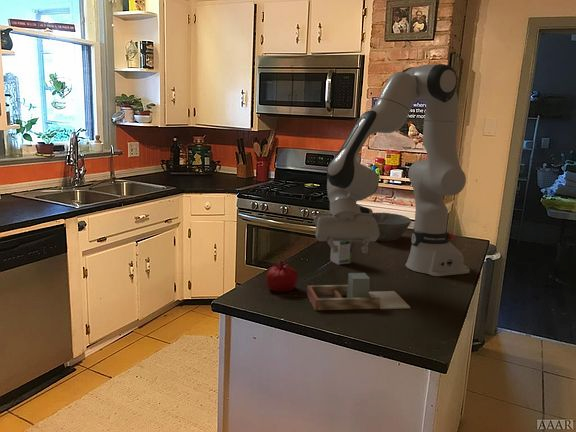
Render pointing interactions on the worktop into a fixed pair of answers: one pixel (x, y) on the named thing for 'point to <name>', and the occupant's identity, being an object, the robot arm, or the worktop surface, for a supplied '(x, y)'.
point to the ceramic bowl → (391, 225)
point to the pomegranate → (281, 278)
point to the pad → (390, 300)
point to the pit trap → (319, 296)
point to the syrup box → (342, 252)
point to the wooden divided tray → (343, 299)
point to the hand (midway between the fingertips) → (350, 252)
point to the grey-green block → (358, 285)
